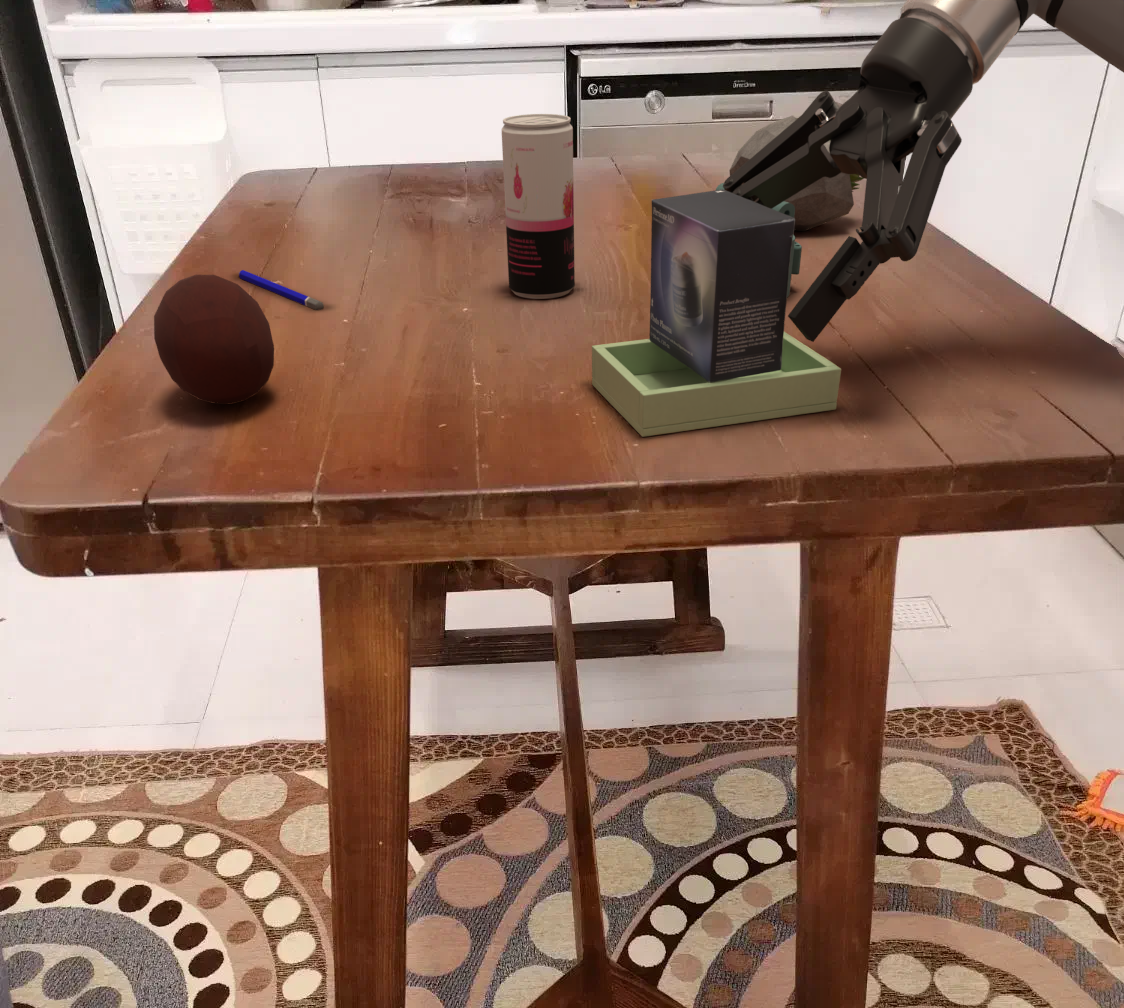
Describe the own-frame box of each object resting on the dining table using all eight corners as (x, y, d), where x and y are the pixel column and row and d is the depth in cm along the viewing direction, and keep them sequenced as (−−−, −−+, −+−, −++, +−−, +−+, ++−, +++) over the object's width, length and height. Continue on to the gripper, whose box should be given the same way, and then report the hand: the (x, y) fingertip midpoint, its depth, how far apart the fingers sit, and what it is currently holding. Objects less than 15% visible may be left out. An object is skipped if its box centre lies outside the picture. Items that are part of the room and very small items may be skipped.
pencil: (325, 311, 106) (324, 300, 106) (317, 313, 106) (315, 302, 105) (243, 277, 117) (241, 267, 116) (235, 278, 116) (234, 268, 116)
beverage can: (588, 291, 109) (587, 118, 100) (536, 304, 106) (530, 127, 97) (547, 278, 113) (543, 111, 104) (496, 290, 110) (486, 119, 101)
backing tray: (836, 409, 83) (841, 368, 81) (642, 437, 79) (643, 394, 77) (769, 361, 91) (772, 323, 90) (591, 384, 88) (591, 345, 86)
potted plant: (719, 185, 131) (830, 137, 132) (766, 274, 130) (879, 225, 131) (734, 112, 120) (857, 60, 120) (787, 209, 118) (911, 156, 119)
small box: (642, 342, 86) (646, 196, 80) (715, 331, 88) (725, 187, 82) (705, 384, 79) (715, 226, 72) (784, 371, 81) (800, 215, 74)
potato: (176, 433, 82) (144, 304, 76) (166, 381, 91) (136, 262, 85) (292, 416, 84) (270, 289, 78) (271, 367, 93) (250, 250, 87)
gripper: (1092, 114, 72) (878, 383, 76) (846, 76, 89) (682, 296, 93) (1054, 22, 67) (826, 316, 70) (800, 1, 84) (629, 238, 88)
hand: (743, 305), depth 82 cm, fingers open, 13 cm apart
